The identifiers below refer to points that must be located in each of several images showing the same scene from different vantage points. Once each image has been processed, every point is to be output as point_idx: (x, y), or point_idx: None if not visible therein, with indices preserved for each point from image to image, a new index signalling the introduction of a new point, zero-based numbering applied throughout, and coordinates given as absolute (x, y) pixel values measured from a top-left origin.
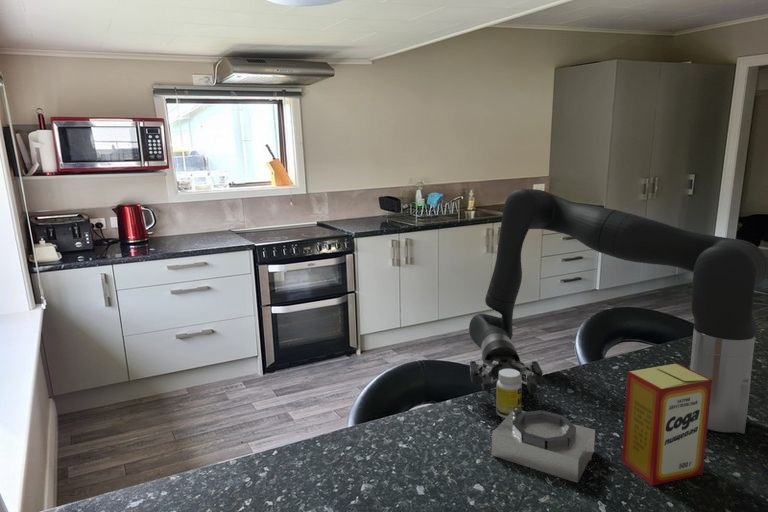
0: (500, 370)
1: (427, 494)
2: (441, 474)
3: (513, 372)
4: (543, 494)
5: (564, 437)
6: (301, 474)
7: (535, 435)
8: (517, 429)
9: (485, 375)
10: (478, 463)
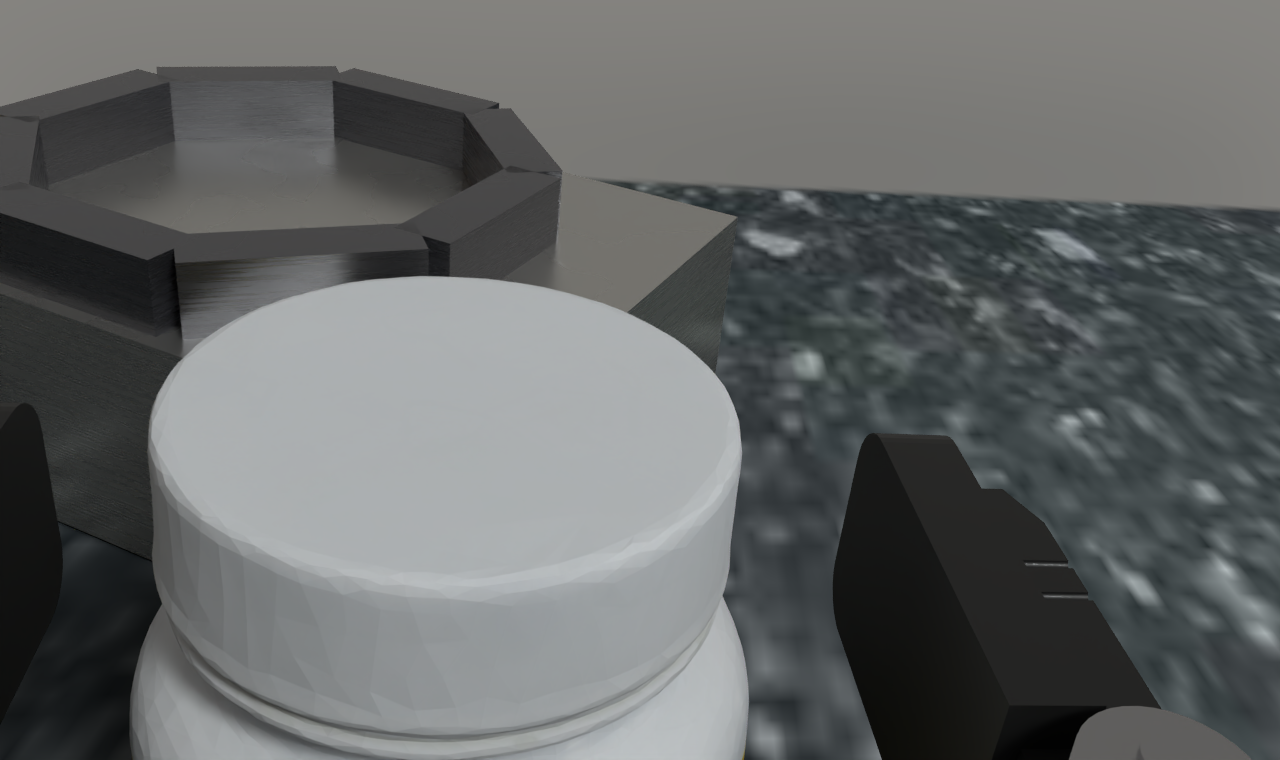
0: (697, 496)
1: (1016, 227)
2: (1005, 299)
3: (339, 394)
4: None
5: (177, 74)
6: None
7: (402, 94)
8: (530, 133)
9: (1094, 693)
10: (800, 348)
